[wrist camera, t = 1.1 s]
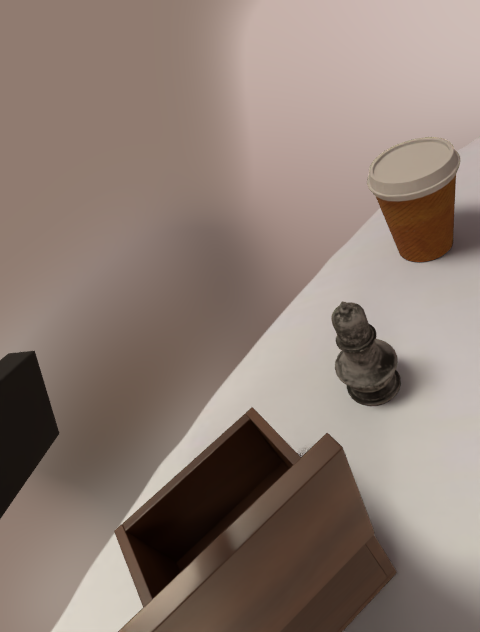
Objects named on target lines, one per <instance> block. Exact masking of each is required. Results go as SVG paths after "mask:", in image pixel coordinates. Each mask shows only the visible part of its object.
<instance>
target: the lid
mask: <svg viewBox="0 0 480 632" xmlns="http://www.w3.org/2000/svg"><path fill="white" fill-rule="evenodd" d="M374 534H375V532H374V530H373V527H372V524H371V522H370V519H369V516H368V514H367V511H366V508H365V506H364V503H363V500H362V498H361V495H360V492H359V490H358V487H357V484H356V482H355V479H354V476H353V474H352V471H351V468H350V466H349V463H348V460H347V458H346V455H345V452H344V450H343V447H342V446H341V445H340V444H339V443H338V442H337V441H336V440H334V439H333V438H332V437H331V436H330V435H329V434H328V433H326V434H325V435H324V436H323V437H322V438H321V439H320V440H319V441H318V442H317V443H316V444H315V445H314V446H313V447H312V448H311V449H310V450H309V451H308V452H306V453H305V454H304V455H303V456H302V457H301V458H300V459H299V460H298V461H297V462H296V463H295V464H294V465H293V466H292V467H291V468H290V469H289V470H288V471H287V472H285V473H284V474H283V475H282V476H281V477H280V478H279V479H278V480H277V481H276V482H275V483H274V484H273V485H272V486H271V487H270V488H269V489H268V490H267V491H265V492H264V493H263V494H262V495H261V496H260V497H259V498H258V499H257V500H256V501H255V502H254V503H253V504H252V505H251V506H250V507H249V508H248V509H247V510H246V511H244V512H243V513H242V514H241V515H240V516H239V517H238V518H237V519H236V520H235V521H234V522H233V523H232V524H231V525H230V526H229V527H228V528H227V529H226V530H225V531H223V532H222V533H221V534H220V535H219V536H218V537H217V538H216V539H215V540H214V541H213V542H212V543H211V544H210V545H209V546H208V547H207V548H206V549H205V550H203V551H202V552H201V553H200V554H199V555H198V556H197V557H196V558H195V559H194V560H193V561H192V562H191V563H190V564H189V565H188V566H187V567H186V568H185V569H184V570H182V571H181V572H180V573H179V574H178V575H177V576H176V577H175V578H174V579H173V580H172V581H171V582H170V583H169V584H168V585H167V586H166V587H165V588H164V589H163V590H161V591H160V592H159V593H158V594H157V595H156V596H155V597H154V598H153V599H152V600H151V601H150V602H149V603H148V604H147V605H146V606H145V607H144V608H143V609H142V610H140V611H139V612H138V613H137V614H136V615H135V616H134V617H133V618H132V619H131V620H130V621H129V622H128V623H127V624H126V625H125V626H124V627H123V628H122V629H120V630H119V631H118V632H281V631H282V630H283V628H284V627H285V626H286V625H287V624H288V623H289V622H290V621H291V620H292V619H293V618H294V617H295V616H296V615H297V614H298V613H299V612H300V611H301V610H302V609H303V608H304V607H305V606H306V605H307V604H308V602H309V601H310V600H311V599H312V598H313V597H314V596H315V595H316V594H317V593H318V592H319V591H320V590H321V589H322V588H323V587H324V586H325V585H326V584H327V583H328V582H329V581H330V580H331V579H332V578H333V577H334V575H335V574H336V573H337V572H338V571H339V570H340V569H341V568H342V567H343V566H344V565H345V564H346V563H347V562H348V561H349V560H350V559H351V558H352V557H353V556H354V555H355V554H356V553H357V552H358V551H359V549H360V548H361V547H362V546H363V545H364V544H365V543H366V542H367V541H368V540H369V539H370V538H371V537H372V536H373V535H374Z"/></svg>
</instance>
